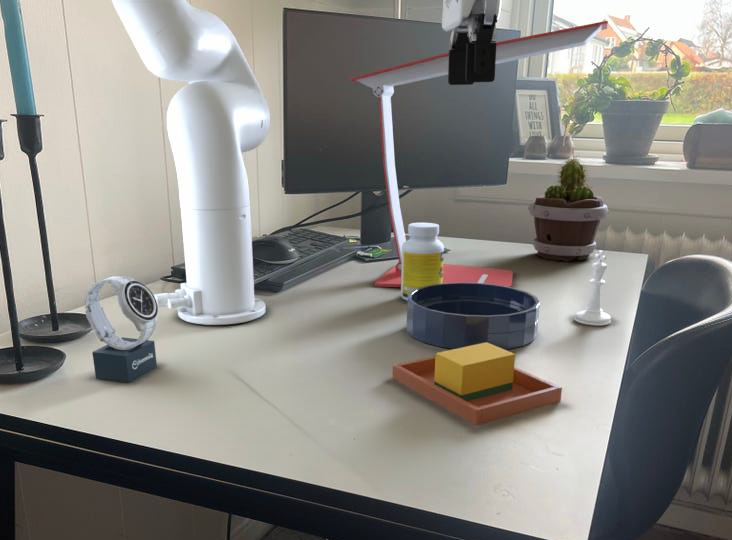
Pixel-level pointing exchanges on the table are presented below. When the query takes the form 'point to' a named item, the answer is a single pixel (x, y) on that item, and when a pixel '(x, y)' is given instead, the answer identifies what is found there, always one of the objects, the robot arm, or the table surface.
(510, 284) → the desk lamp
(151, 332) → the watch
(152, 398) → the table surface
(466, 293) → the bowl
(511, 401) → the sponge dish
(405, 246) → the pill bottle
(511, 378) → the sponge
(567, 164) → the flowerpot
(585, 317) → the chess piece
